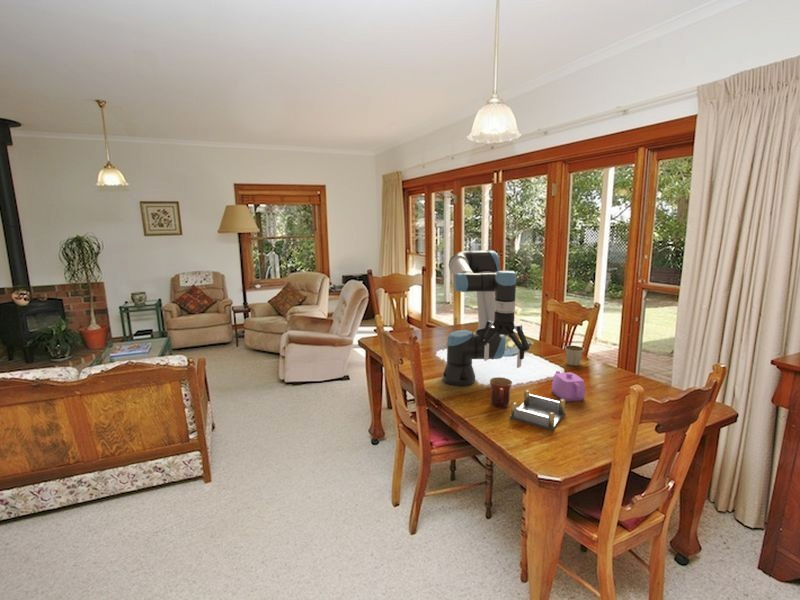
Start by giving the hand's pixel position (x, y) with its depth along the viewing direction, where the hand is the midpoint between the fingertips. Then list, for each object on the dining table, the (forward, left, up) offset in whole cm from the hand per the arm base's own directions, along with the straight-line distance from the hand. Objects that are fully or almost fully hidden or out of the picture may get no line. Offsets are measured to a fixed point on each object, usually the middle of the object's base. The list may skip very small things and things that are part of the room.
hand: (502, 363), depth 163 cm
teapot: (+19, +27, -19) cm, 38 cm away
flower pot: (+11, +68, -19) cm, 71 cm away
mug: (0, 0, -19) cm, 19 cm away
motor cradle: (+15, +1, -19) cm, 24 cm away
